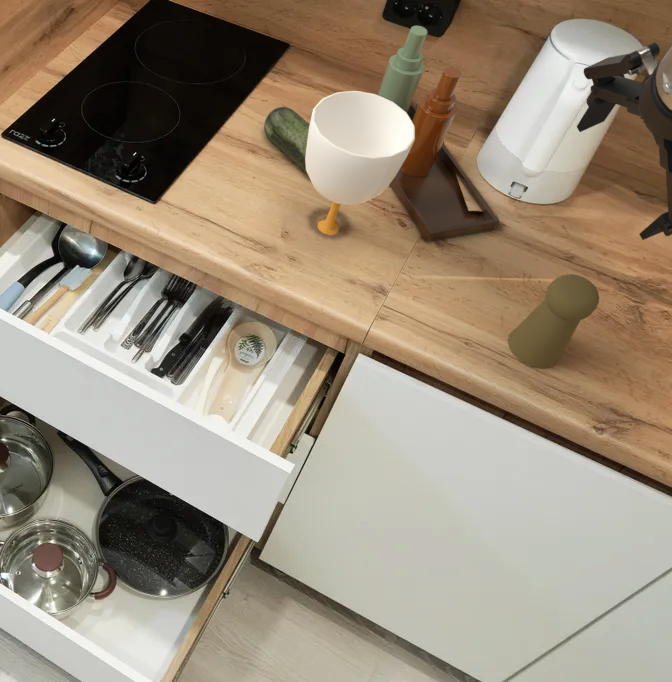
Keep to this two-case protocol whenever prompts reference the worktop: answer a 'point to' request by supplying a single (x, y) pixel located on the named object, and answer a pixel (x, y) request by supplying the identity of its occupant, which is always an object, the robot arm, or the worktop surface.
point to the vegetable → (288, 134)
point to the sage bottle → (404, 70)
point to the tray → (442, 199)
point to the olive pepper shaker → (554, 321)
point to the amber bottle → (432, 124)
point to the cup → (355, 149)
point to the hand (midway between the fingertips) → (621, 176)
